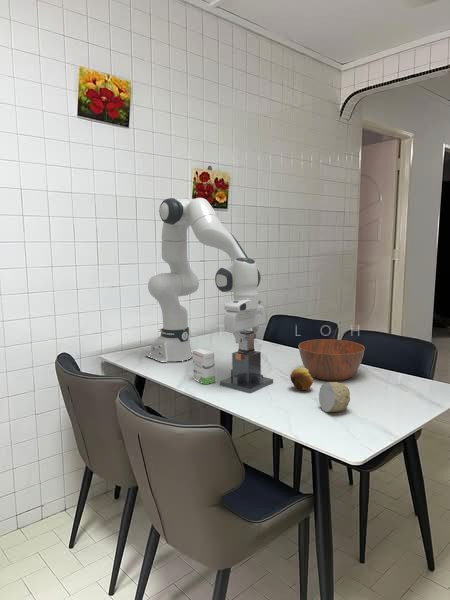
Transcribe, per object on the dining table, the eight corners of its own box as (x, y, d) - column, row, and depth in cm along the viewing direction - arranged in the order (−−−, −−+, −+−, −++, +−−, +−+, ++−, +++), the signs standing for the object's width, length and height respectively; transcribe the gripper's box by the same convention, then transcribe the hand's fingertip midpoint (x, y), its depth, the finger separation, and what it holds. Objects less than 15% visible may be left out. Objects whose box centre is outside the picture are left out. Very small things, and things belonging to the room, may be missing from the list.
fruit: (308, 395, 151) (308, 372, 149) (286, 391, 155) (286, 368, 154) (316, 388, 157) (316, 366, 156) (294, 384, 161) (294, 363, 160)
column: (238, 379, 162) (238, 331, 160) (245, 376, 166) (245, 329, 163) (247, 382, 160) (247, 333, 157) (254, 379, 163) (254, 331, 160)
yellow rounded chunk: (307, 386, 139) (333, 370, 141) (319, 413, 140) (345, 398, 143) (321, 393, 130) (349, 377, 132) (334, 423, 131) (361, 406, 133)
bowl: (368, 369, 178) (368, 342, 177) (358, 388, 156) (359, 357, 154) (307, 363, 189) (307, 337, 187) (290, 380, 167) (290, 350, 165)
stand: (220, 385, 162) (219, 352, 160) (243, 376, 173) (243, 345, 171) (250, 393, 153) (250, 358, 151) (273, 383, 164) (273, 350, 162)
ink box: (215, 382, 165) (215, 352, 164) (204, 385, 162) (203, 354, 161) (203, 377, 172) (202, 347, 171) (192, 379, 169) (191, 349, 168)
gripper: (256, 299, 169) (256, 334, 170) (221, 305, 153) (221, 344, 155) (269, 300, 165) (269, 336, 166) (235, 307, 149) (235, 347, 151)
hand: (246, 340), depth 161 cm, fingers open, 8 cm apart
